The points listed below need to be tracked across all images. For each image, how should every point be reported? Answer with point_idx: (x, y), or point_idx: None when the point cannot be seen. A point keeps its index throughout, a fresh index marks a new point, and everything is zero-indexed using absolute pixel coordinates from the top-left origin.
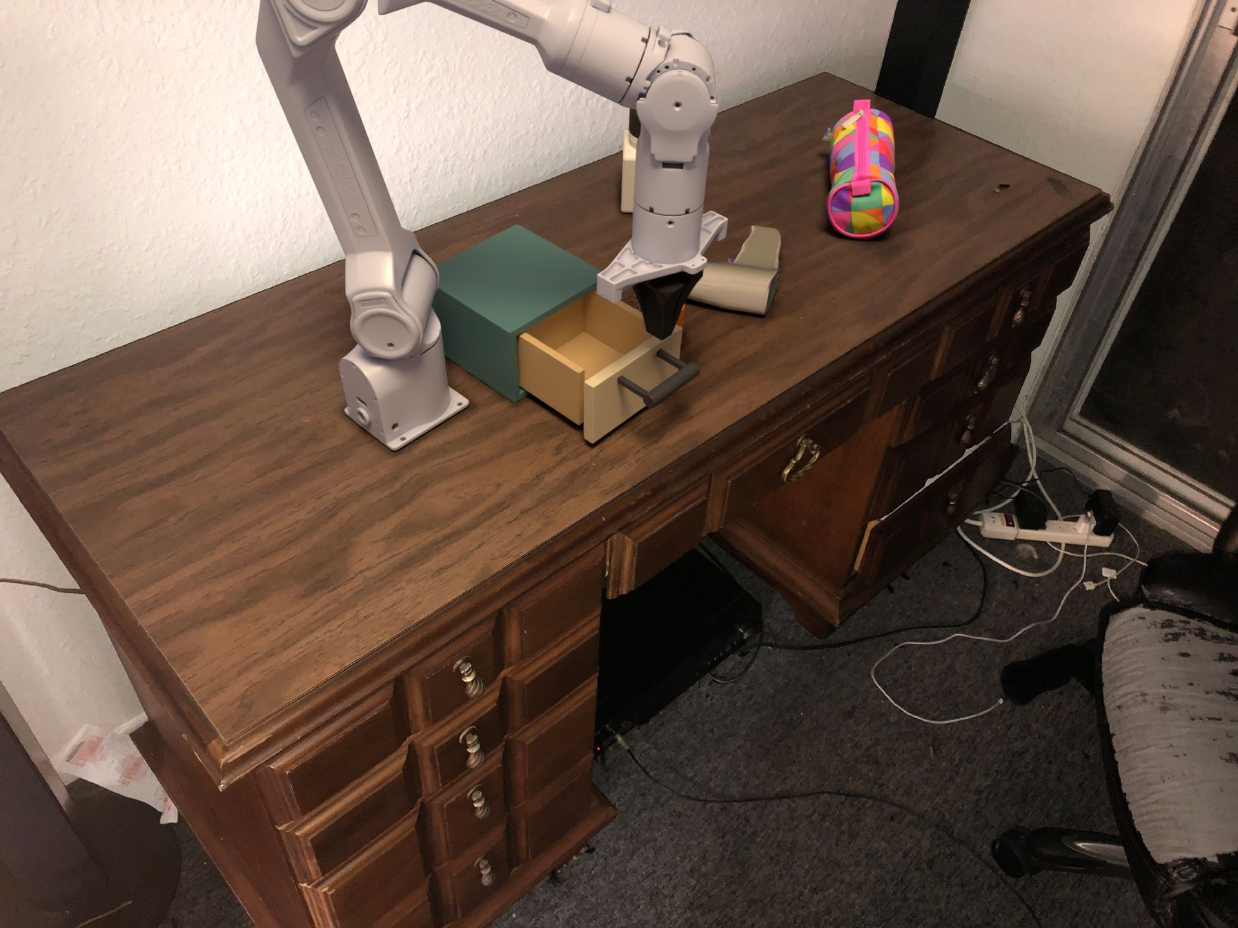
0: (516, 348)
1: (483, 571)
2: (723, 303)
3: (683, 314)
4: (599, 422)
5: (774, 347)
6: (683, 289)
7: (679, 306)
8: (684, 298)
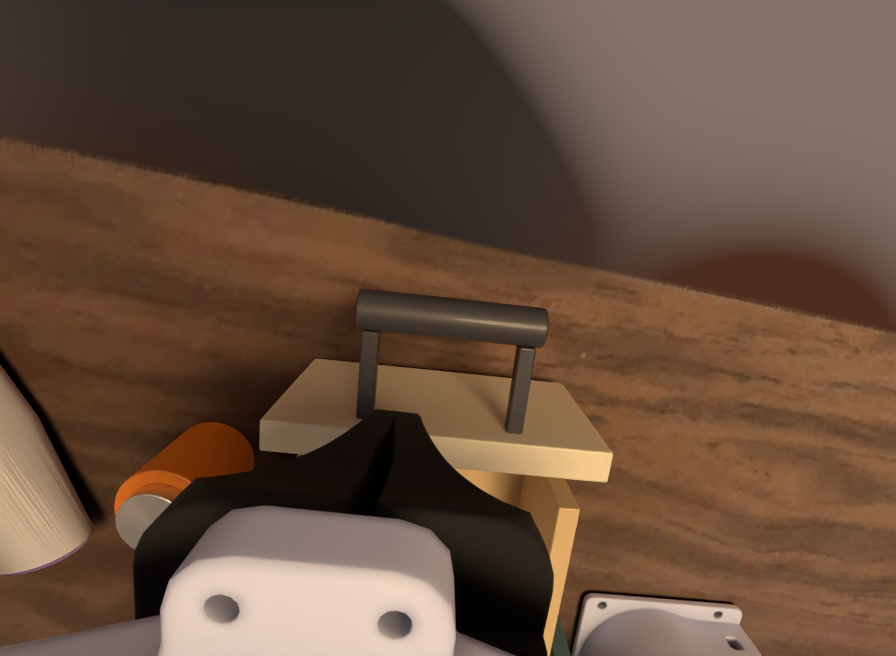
0: (552, 649)
1: (885, 346)
2: (30, 425)
3: (153, 462)
4: (555, 397)
5: (55, 267)
6: (355, 494)
7: (357, 450)
8: (329, 459)
